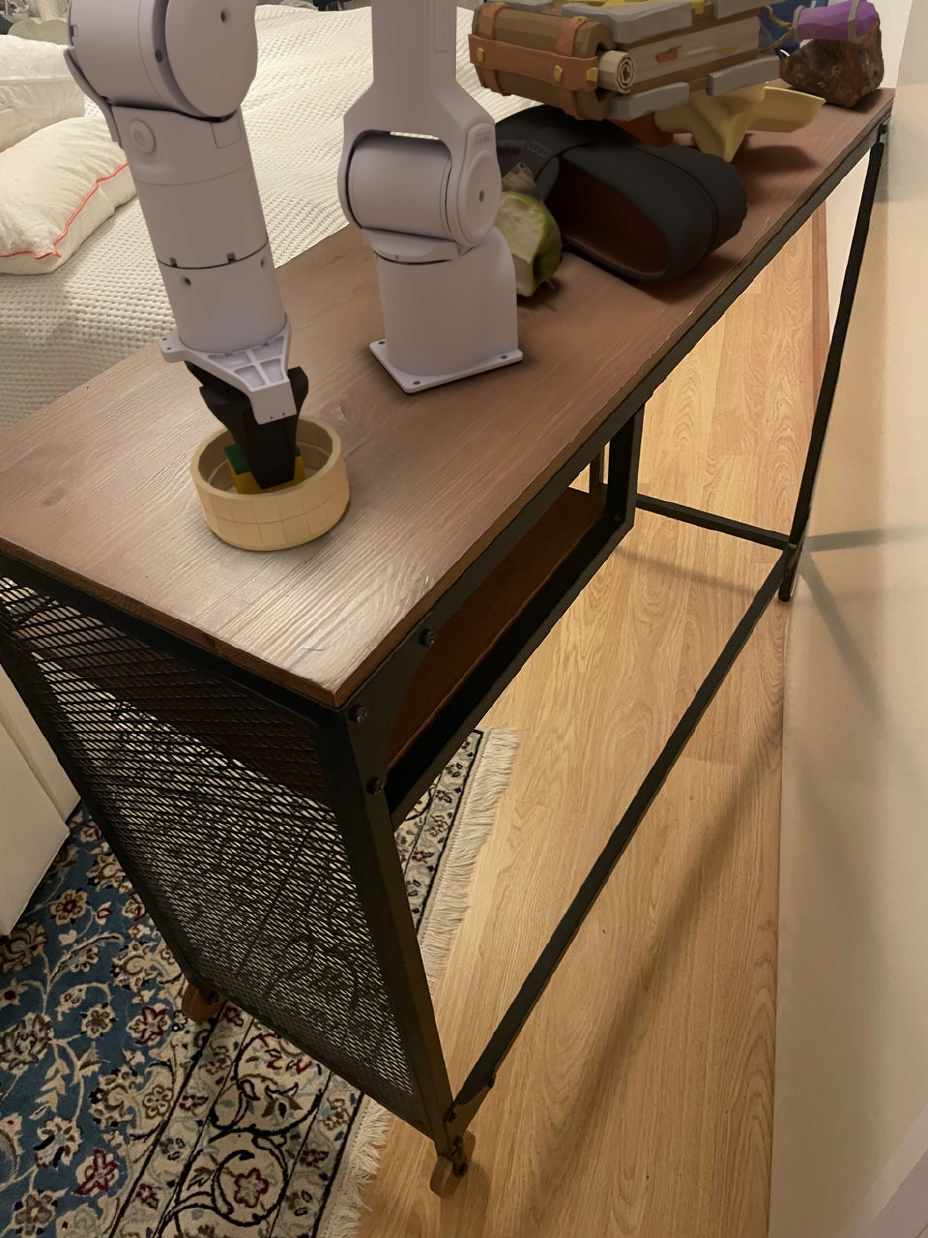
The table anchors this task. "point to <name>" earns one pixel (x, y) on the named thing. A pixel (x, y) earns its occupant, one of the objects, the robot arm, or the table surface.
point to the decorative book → (639, 49)
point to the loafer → (624, 192)
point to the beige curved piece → (738, 116)
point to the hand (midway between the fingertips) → (268, 468)
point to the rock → (837, 67)
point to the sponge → (245, 478)
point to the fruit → (528, 231)
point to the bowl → (275, 513)
